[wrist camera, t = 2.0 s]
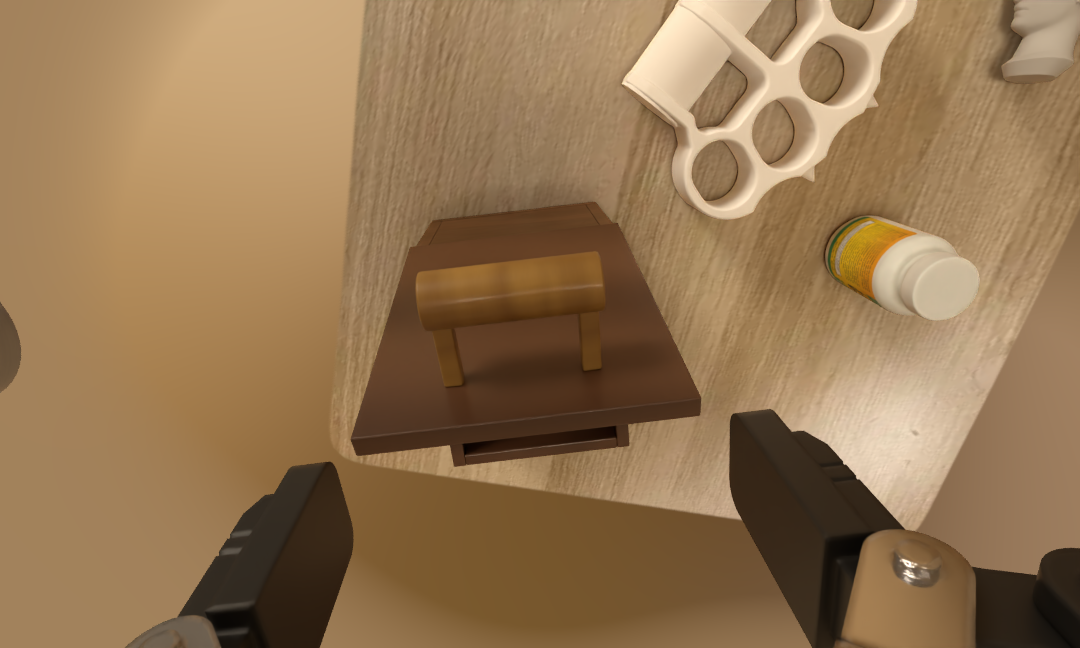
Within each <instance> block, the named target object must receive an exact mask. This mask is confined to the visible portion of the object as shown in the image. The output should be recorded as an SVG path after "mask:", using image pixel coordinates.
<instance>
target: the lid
mask: <svg viewBox="0 0 1080 648" xmlns="http://www.w3.org/2000/svg"><path fill="white" fill-rule="evenodd" d="M700 410H701V396H700V394H699V392H698V390H697V388H696V386H695V384H694V382H693V380H692V378H691V376H690V373H689V371H688V369H687V367H686V365H685V363H684V361H683V359H682V357H681V355H680V353H679V350H678V348H677V346H676V344H675V342H674V340H673V338H672V336H671V334H670V332H669V330H668V327H667V325H666V323H665V321H664V319H663V317H662V315H661V313H660V311H659V309H658V307H657V305H656V302H655V300H654V298H653V296H652V294H651V292H650V290H649V288H648V286H647V284H646V282H645V279H644V277H643V275H642V273H641V271H640V269H639V267H638V265H637V263H636V261H635V259H634V256H633V254H632V252H631V250H630V248H629V246H628V244H627V242H626V240H625V238H624V236H623V233H622V231H621V229H620V227H619V225H618V223H613V224H604V225H596V226H587V227H578V228H570V229H561V230H553V231H544V232H536V233H527V234H518V235H510V236H501V237H493V238H484V239H475V240H467V241H458V242H450V243H441V244H432V245H424V246H415V247H410V249H409V252H408V255H407V259H406V262H405V265H404V268H403V272H402V275H401V278H400V281H399V284H398V288H397V291H396V294H395V297H394V301H393V304H392V307H391V310H390V314H389V317H388V320H387V323H386V326H385V330H384V333H383V336H382V339H381V343H380V346H379V349H378V352H377V356H376V359H375V362H374V365H373V369H372V372H371V375H370V378H369V381H368V385H367V388H366V391H365V394H364V398H363V401H362V404H361V407H360V411H359V414H358V417H357V420H356V423H355V427H354V430H353V433H352V436H351V442H352V444H353V447H354V450H355V453H356V455H357V456H362V455H371V454H379V453H388V452H396V451H404V450H413V449H421V448H430V447H438V446H447V445H455V444H464V443H472V442H481V441H489V440H498V439H506V438H515V437H523V436H532V435H540V434H549V433H557V432H566V431H574V430H583V429H591V428H600V427H608V426H617V425H625V424H634V423H642V422H650V421H659V420H667V419H676V418H684V417H693V416H699V415H700Z"/></svg>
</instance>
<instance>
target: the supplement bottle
mask: <svg viewBox="0 0 1080 648" xmlns="http://www.w3.org/2000/svg"><path fill="white" fill-rule="evenodd" d="M825 261H826V266H827V268H828V271H829V272H830V274H831V275H832V277H833V278H834V279H836V280H837V281H838V282H840V283H841V284H843V285H845V286H846V287H848V288H850V289H852V290H854V291H855V292H857V293H859V294H860V295H862V296H864V297H866V298H867V299H869V300H871V301H872V302H874V303H876V304H877V305H879V306H881V307H883V308H884V309H886V310H888V311H890V312H892V313H895V314H899V315H906V316H910V315H919V316H921V317H923V318H925V319H928V320H932V321H943V320H948V319H950V318H953V317H955V316H957V315H959V314H960V313H962V312H963V311H964V310H965V309H966V308H967V307H968V306H969V305H970V304H971V303H972V301H973V300H974V298H975V296H976V294H977V292H978V289H979V283H980V279H979V273H978V270H977V269H976V267H975V266H974V264H972V263H971V262H970V261H968V260H967V259H964V258H962V257H960V256H958V253H957V252H956V250H955V248H954V247H953V246H952V245H951V244H950V243H949V242H948V241H946V240H944V239H943V238H941V237H938V236H936V235H933V234H930V233H927V232H924V231H921V230H918V229H915V228H911V227H909V226H905V225H903V224H900V223H897V222H894V221H892V220H889V219H886V218H882V217H879V216H873V215H866V216H860V217H856V218H854V219H852V220H850V221H848V222H847V223H845V224H844V225H842V226H841V227H840V228H839V229H837V230H836V232H835V233H834V234H833V235H832V237H831V238H830V240H829V242H828V245H827V248H826V253H825Z"/></svg>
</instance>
